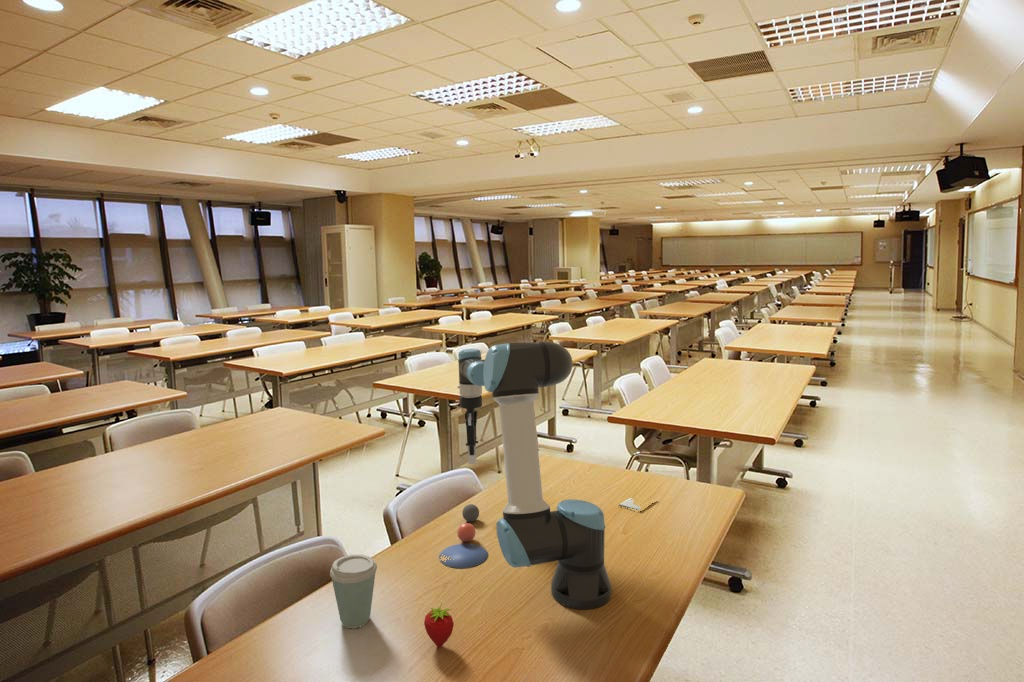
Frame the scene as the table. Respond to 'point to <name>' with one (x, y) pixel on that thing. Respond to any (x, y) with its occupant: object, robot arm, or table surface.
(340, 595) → the disposable coffee cup
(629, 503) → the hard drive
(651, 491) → the table surface
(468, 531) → the red ball
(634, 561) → the table surface
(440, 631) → the strawberry
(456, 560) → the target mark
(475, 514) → the grey ball
